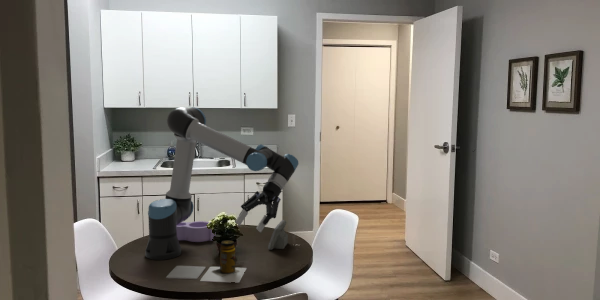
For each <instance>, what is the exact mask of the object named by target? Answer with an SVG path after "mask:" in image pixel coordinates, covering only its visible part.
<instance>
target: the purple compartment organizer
mask: <svg viewBox="0 0 600 300" xmlns="http://www.w3.org/2000/svg"><path fill="white" fill-rule="evenodd" d="M209 222H210V221H205V220H204V221H203V220H197V221H196V220H195V221H188V222H187V221H183V222H181V223H179V224H177V238H178V241H188V242H193V243H194V242H195V243H201V242H207V241H210V242H211V241H213V240H214V236H215V237H216V234H215V235H214V234H213V233H212V230H211V229H208V228H207V226H206V225H207V224H208V223H209ZM212 239H213V240H212Z"/></svg>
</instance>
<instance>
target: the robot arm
mask: <svg viewBox="0 0 600 300" xmlns="http://www.w3.org/2000/svg"><path fill="white" fill-rule="evenodd" d="M206 118H207V117H206V115H205V113H204V111H202V110H201V109H199V107H194V106H186V107H185V106H184V107H176V108H174V109H172V110H171V111H170V112H169V113H168V116H167V119H166V123H167V127H168V128H169V130H170V131H171V132H172V133H174V134H173V135H174V138H176V143H175V152H174V160H173V165H172V166H173V167H172V173H171V180H170V189H169V190H168V191H166V193H165V196H164V197H165V198H162V199H157V200H154V201H152V202H151V203H150V204H149V205H148V211H147V215H148V217H147V218H148V241H147V244H146V247H145V251H144V252H145V253H144V255H145V258H147V259H149V260H155V261H161V260H170V259H174V258H177V257H179V256H180V255H182V247H181V246H182V245H181V243H180V240H178V238H177V224H179V223H181V222H186V220H188V219H189V218H190V217H191V216H192V214H193V212H194V206H195V205H194V202H193V200H192V197H193V196H192V194H191V193H190V188H191V179H192V173H193V167H194V159H195V152H196V145H197V142H198V143H200V144H201V145H204V146H206V147H207V148H210V149H212V150H214V151H216V152H218V153H221V154H222V155H225V156H227V157H229V158H231V159H232V160H233V159H234V160H236V161H237V162H240V163H241V164H243V165H246V167H247V168H248V169H249V170H250V171H253V172H258V171H262V170H264V169H265V168H268V169H269V170H271V171H273V172H272V173H271V174H270V176H269V178H268V179H267V181H266V183H265V184H264V185H263V187H262V192H261V193H260V192H259V191H258V190H257V191H255V193H254V194H253V195H252V196H251V197H250V198H248V199H247V200H246V201H245V202H244V203H242V204H241V205H240V208H241V211H240V213H239V214H238V217H237V218H236V219H235V221H234V223H235V224H236V225H238V227H240V226H241V225H242V223H243V221H244V220H245V219H246V217H247V215H248V214H249V213H248V212H250V211H251V210H253V209H255V208H256V207H258V206H261V205H265V209H266V211H265V212H266V213H265V214H264V215H263V217H262V218H261V220H260V221H259V223H258V225H257V226H256V228H255V229H256V230H257V231H258V232H259V233H262V232H263V230H264V228H265V226H266V225H268V223H269V222H270V221H271V220H272V219H276V218H277V214H278V209H279V204H280V202H281V198H280V194H281V193H282V190H283V189H284V188H285V187H286V185H287V183H288V182H289V180H290V179H291V178H292V177H293V174H294V173H295V171H296V170H297V168H298V166H299V160H298V158H297V157H295V156H294V155H293V154H290V153H284V155H281V154H279V153H277V152H276V151H274V150H272V149H271V148H269V147H268V146H267V145H266V146H265V145H264V144H261V143H260V144H257V146H255V148H254V147H252V146H249V145H247V144H245V143H243V142H241V141H239V140H238V139H236V138H232V137H230V136H228V135H227V134H224V133H222V132H220V131H218V130H216V129H214V128H212V127H210V126H208V125H207V119H206Z"/></svg>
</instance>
